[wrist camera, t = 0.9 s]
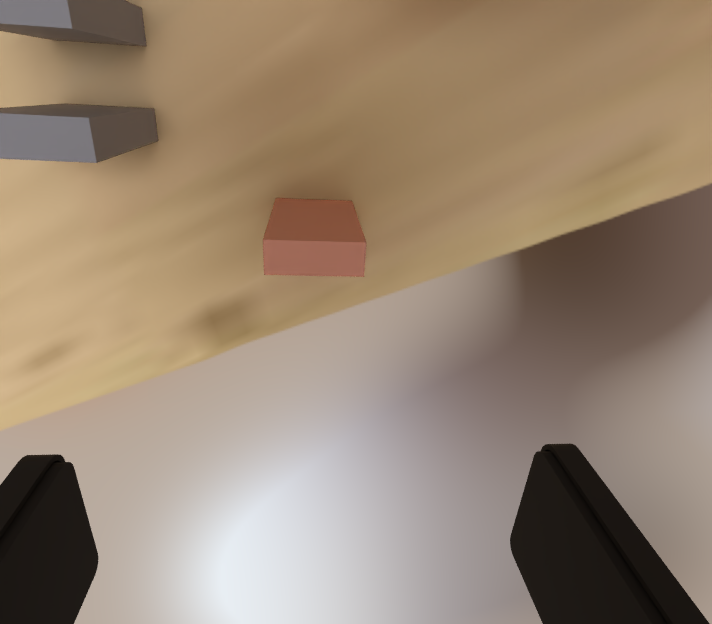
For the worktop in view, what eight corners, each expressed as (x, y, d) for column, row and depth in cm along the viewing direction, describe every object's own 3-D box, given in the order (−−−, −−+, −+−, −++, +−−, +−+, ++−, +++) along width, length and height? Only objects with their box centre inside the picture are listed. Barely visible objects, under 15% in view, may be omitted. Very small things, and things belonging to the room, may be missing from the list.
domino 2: (64, 103, 27) (-42, 110, 19) (154, 108, 27) (88, 117, 19) (71, 136, 27) (-29, 157, 19) (158, 140, 28) (96, 162, 20)
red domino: (275, 198, 30) (263, 239, 22) (351, 200, 31) (366, 242, 23) (276, 224, 31) (264, 274, 23) (350, 227, 31) (364, 276, 23)
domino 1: (43, 0, 24) (-87, -41, 16) (141, 8, 25) (61, -29, 17) (51, 39, 25) (-70, 18, 17) (146, 46, 26) (72, 28, 18)
